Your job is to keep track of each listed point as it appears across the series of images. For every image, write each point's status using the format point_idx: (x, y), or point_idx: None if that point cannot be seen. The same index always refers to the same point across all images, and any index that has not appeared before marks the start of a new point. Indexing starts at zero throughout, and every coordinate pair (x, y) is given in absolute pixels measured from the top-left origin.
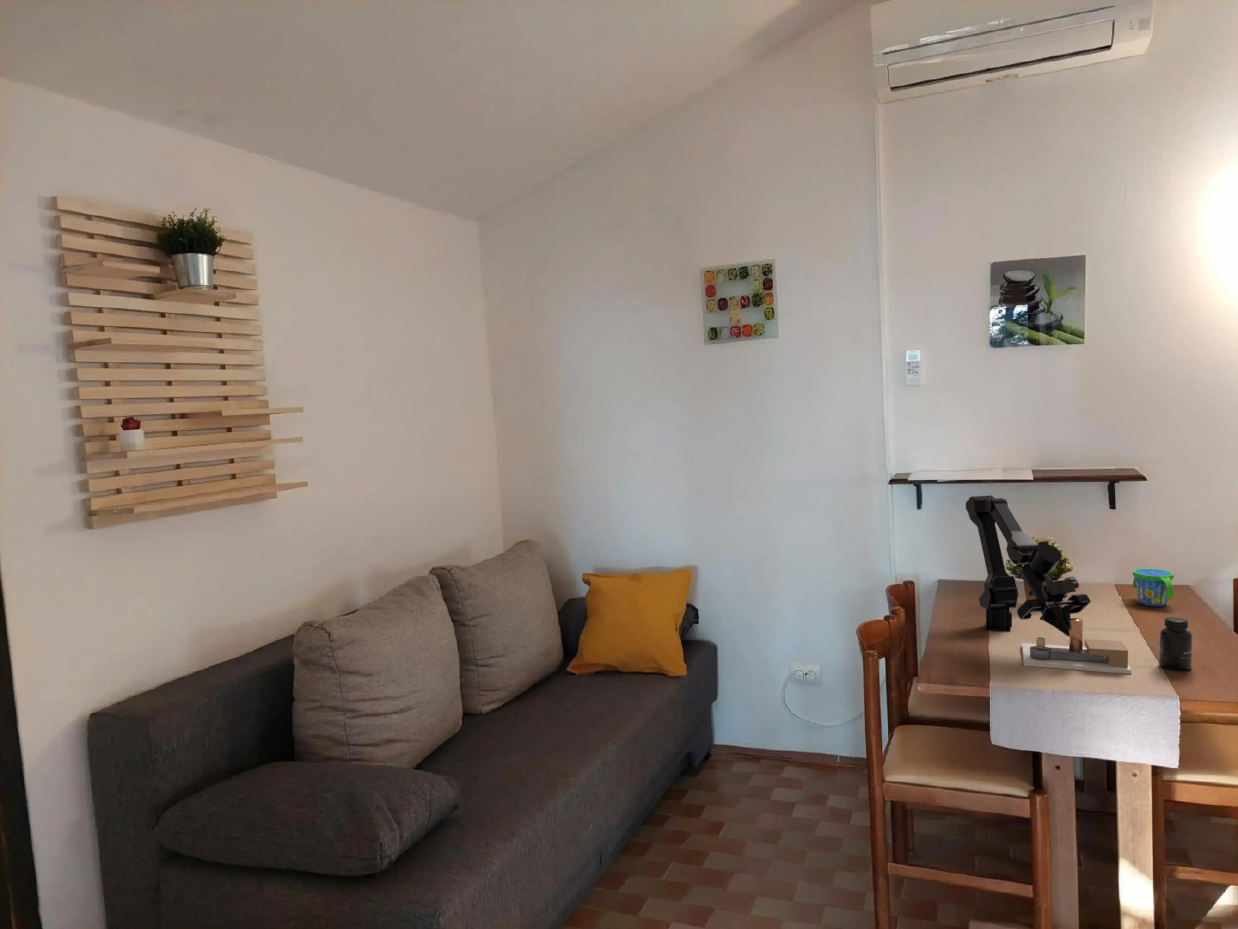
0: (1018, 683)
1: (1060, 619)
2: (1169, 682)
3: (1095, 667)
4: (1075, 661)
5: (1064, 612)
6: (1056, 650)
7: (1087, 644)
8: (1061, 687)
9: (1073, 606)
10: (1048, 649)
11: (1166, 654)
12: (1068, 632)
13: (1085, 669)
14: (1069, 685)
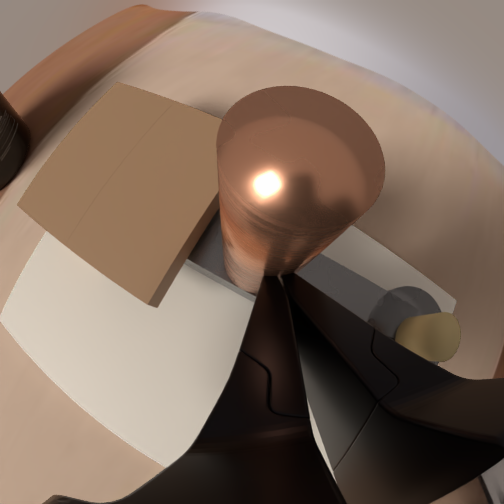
0: (486, 173)
1: (396, 352)
2: (120, 64)
3: None
4: None
5: (315, 459)
6: (356, 292)
7: (215, 195)
8: (412, 110)
9: (61, 501)
10: (384, 317)
11: (9, 117)
12: (303, 284)
13: None
14: (390, 110)
